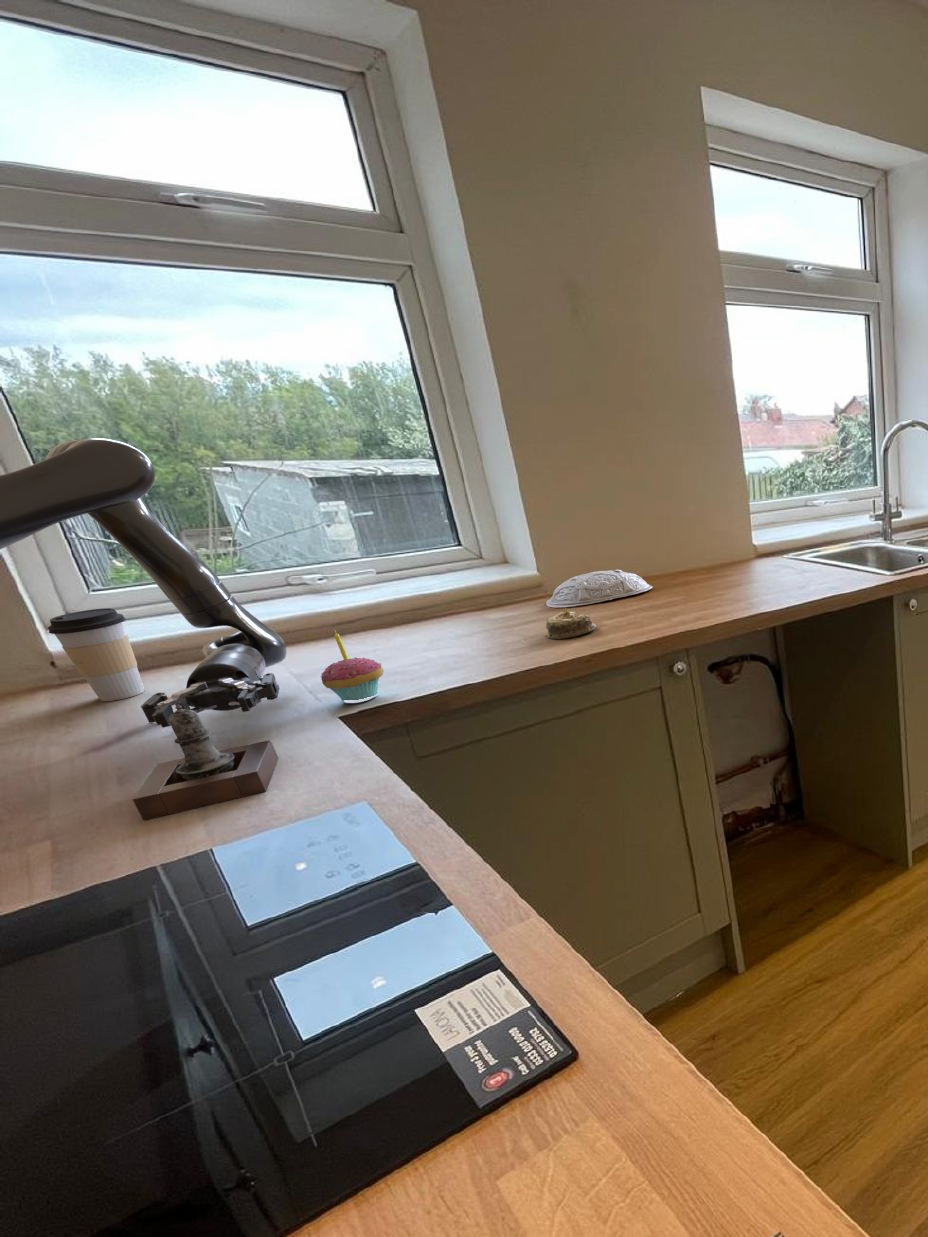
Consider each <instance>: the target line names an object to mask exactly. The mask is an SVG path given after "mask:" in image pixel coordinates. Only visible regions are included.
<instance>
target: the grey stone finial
mask: <svg viewBox="0 0 928 1237" xmlns="http://www.w3.org/2000/svg"><path fill="white" fill-rule="evenodd" d="M174 709H175V711H174V712H175V713H173V714H172V715H170V717H169V722H170V724H171V726H170V727H171V728H172V731H173V733H174V736H176V738H175V739H174V743H175V744H178V745H179V747H180V748H181V751H182V752H183V755H184V758H185V763H184V764H182V765H180V766H179V767H178V768H177V769H176V773H177V774H181V776H182V777H183V778H184V779H185V780H186V781H189V780H194V779H198V778H203V777H207V776H212V775H216V774H221V773H225V772H230V771H233V769H234V761H233V759H234V757H235V756H234V755H233V754H231V753H220V752H218V751H219V750H218V749H217V748H216V747H215V745H214V744H213V741H212V739H211V737H210V736H211V734H212V732H211V731H210V730H206V728H205V726H204V725H203V722H202V720H201V718H200V716H199V713H196V712H195V711H193V710H185V709H182V706H180V705H178V704H177V706H175V707H174Z"/></svg>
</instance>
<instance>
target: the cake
mask: <svg viewBox="0 0 928 1237" xmlns="http://www.w3.org/2000/svg"><path fill="white" fill-rule="evenodd" d="M596 628H597V624H596V623H593V620H592V619H591V616H589V615H587V614H582V613H581V614H579V615H578V614H577V613H576V611H570V610H568V608H567V607H564V610H563V612H559V613H556V614H554V615H553V616H550V617H548V619H547V620H546V623H545V629H546V630H547V633H546V638H547V639H550V640H553V639H554V640H562V639H568V638H574V637H577V636H580V635H585V634H586V633H590V632H593V631H594V630H595V629H596Z"/></svg>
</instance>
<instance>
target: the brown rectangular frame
mask: <svg viewBox="0 0 928 1237" xmlns="http://www.w3.org/2000/svg"><path fill="white" fill-rule="evenodd" d="M218 752H220V753H231V754H233V755H234V756H235V757H234V759H233V761H234V769H233V771H230V772H225V773H221V774H216V775H212V776H207V777H203V778H198V779H194V780H189V781H186V780H185V779H184V778H183V777H182V776H181V774H177V773H176V769H177V768H178V767H179V766H180V765H182V764H184V763H185V757H183V758H179V759H173V760H169V761H164V762H159V763H157V764H156V765H155V767H154V769H153V770H152V771H151V773H150V774H149V775H148V776H147V779H146V780H145V781H144V783H143V784H142V785H141V787H140V788H139V790H138V791H137V793H136V794H135V795H134V797H133V798H132V802H133V804H134V806H135V807H136V810H137V811H138V813H139V816H141V819H142V820H143V821H147V820H151V819H155V818H159V817H163V816H169V815H172V814H176V813H180V812H184V811H185V812H186V811H190V810H193V809H197V808H201V807H202V808H203V807H206V806H210V805H211V806H212V805H214V804H215V805H216V804H218V803H219V804H220V803H223V802H227V801H231V800H236V799H239V798H244V797H249V796H252V795H258V794H261V793H265V792H267V789H268V787H269V784H270V781H271V779H272V776H273V775H274V771H275V768H276V766H277V763H278V761H279V756H278V753H277V751H276V750H275V747H274V745H273V742H272V740H271V739H268V740H263V741H259V742H253V743H248V744H244V745H240V746H236V747H231V748H226V749H221V750H218Z"/></svg>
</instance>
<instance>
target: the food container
mask: <svg viewBox="0 0 928 1237" xmlns="http://www.w3.org/2000/svg"><path fill="white" fill-rule="evenodd" d="M651 589H654V588H653V585H651V584H648V582H647V581H645V580H644V579H643V578H642V577H641V576H639V575H637V574H635V573H633V572H627V571H623V570H621V569H614V570H597V571H593V572H588V573H583V574H579V575H576V576H573V577H570V578H568V579H567V580H565V581H563V582H562V583H561V584H560V585H559V586H557V587H556V588H555V589H554V591H553V594H552V596H551V598H550V599H548V600H547V601H546V602H545V603H546V604H545V605H546V607H548V608H554V609H559V608H562V609H563V608H570V607H571V608H572V607H579V606H585V605H593V604H595V603H601V602H605V601H612V600H614V599H619V598H624V597H628V596H632V595H633V596H634V595H638V594H641V593H644V592H647V591H649V590H651Z"/></svg>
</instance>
